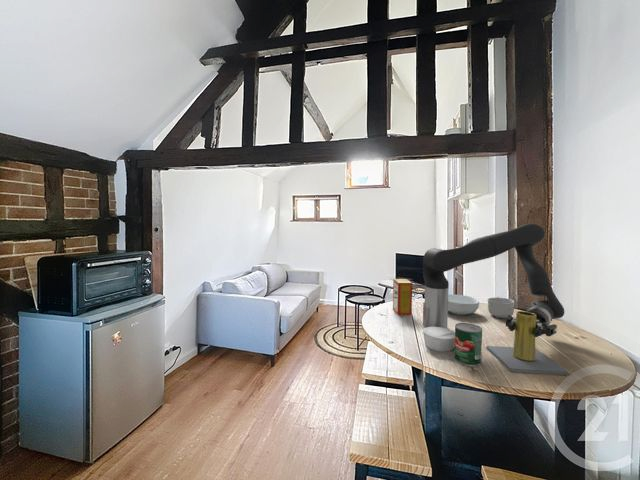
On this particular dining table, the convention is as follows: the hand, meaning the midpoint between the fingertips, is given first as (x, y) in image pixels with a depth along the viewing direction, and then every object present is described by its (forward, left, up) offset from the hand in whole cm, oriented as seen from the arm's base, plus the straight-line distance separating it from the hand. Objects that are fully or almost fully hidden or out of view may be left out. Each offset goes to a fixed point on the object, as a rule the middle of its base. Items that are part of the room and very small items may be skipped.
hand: (523, 330), depth 92 cm
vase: (+2, +2, -9) cm, 10 cm away
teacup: (+17, +50, -11) cm, 54 cm away
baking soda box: (-29, +49, -11) cm, 58 cm away
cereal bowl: (-1, +52, -11) cm, 53 cm away
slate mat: (+2, +2, -10) cm, 11 cm away
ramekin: (-22, +10, -11) cm, 27 cm away
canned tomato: (-16, 0, -11) cm, 20 cm away
